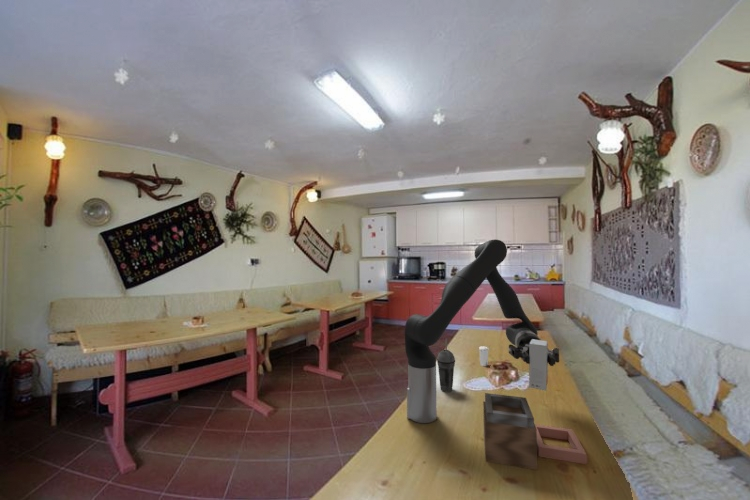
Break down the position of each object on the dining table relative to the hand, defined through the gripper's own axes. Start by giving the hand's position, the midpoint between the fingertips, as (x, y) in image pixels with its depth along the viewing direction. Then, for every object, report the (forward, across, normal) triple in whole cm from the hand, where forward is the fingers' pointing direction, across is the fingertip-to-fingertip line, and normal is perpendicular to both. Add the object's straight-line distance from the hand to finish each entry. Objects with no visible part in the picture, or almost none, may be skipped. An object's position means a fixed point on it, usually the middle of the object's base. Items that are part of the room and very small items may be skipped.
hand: (540, 361), depth 84 cm
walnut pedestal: (+1, -8, +25) cm, 26 cm away
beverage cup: (-35, -28, +25) cm, 51 cm away
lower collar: (-5, +5, +25) cm, 25 cm away
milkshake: (-69, -12, +25) cm, 74 cm away
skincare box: (-3, 0, +8) cm, 8 cm away
